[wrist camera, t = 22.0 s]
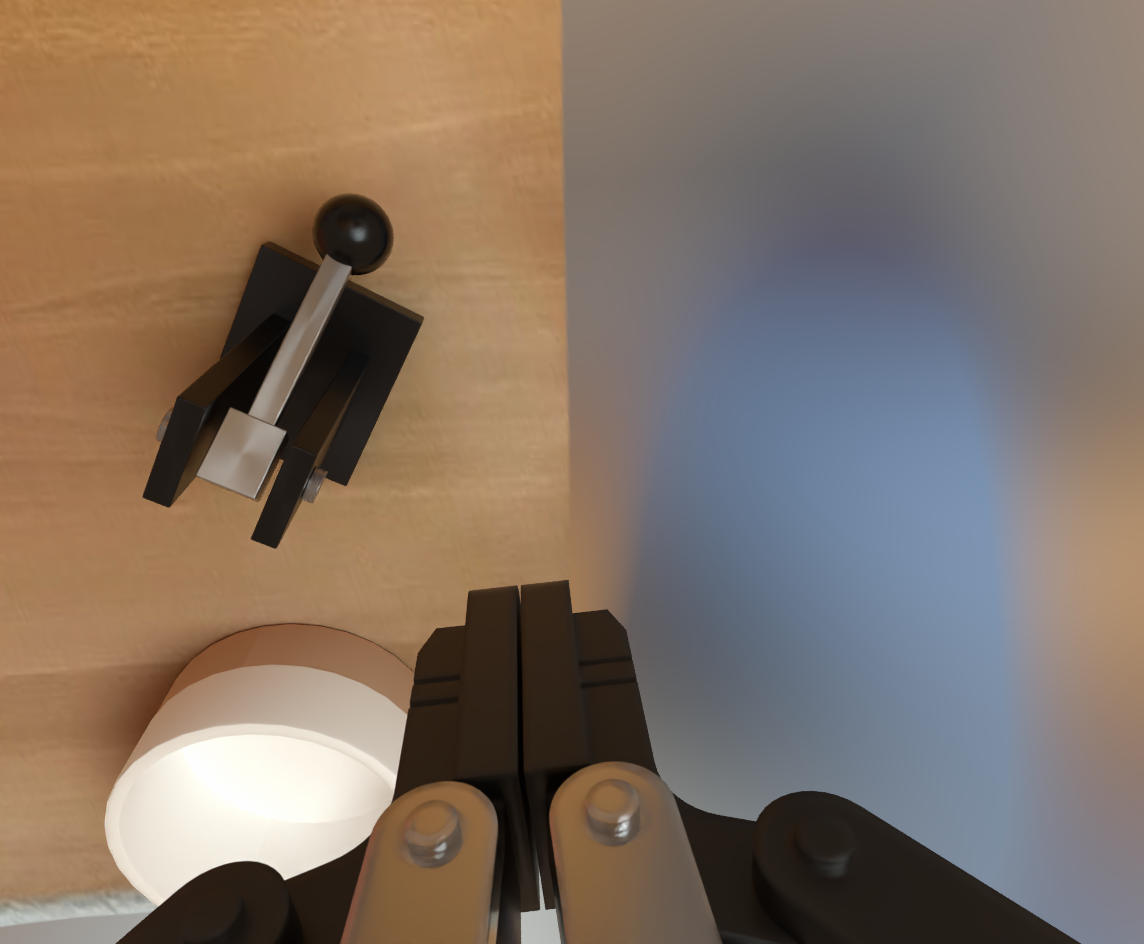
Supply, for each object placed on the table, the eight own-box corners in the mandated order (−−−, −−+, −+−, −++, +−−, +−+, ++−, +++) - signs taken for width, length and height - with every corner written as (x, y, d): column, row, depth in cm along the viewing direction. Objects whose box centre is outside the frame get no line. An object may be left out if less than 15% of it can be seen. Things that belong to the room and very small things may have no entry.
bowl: (480, 671, 48) (474, 775, 41) (389, 847, 55) (370, 965, 47) (203, 585, 44) (139, 683, 37) (140, 786, 50) (75, 905, 43)
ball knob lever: (268, 240, 36) (155, 304, 25) (424, 317, 38) (387, 408, 27) (204, 415, 40) (78, 542, 28) (350, 476, 42) (289, 617, 30)
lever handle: (331, 199, 33) (333, 164, 30) (401, 235, 33) (410, 205, 30) (192, 476, 30) (178, 468, 27) (271, 507, 31) (267, 504, 28)
